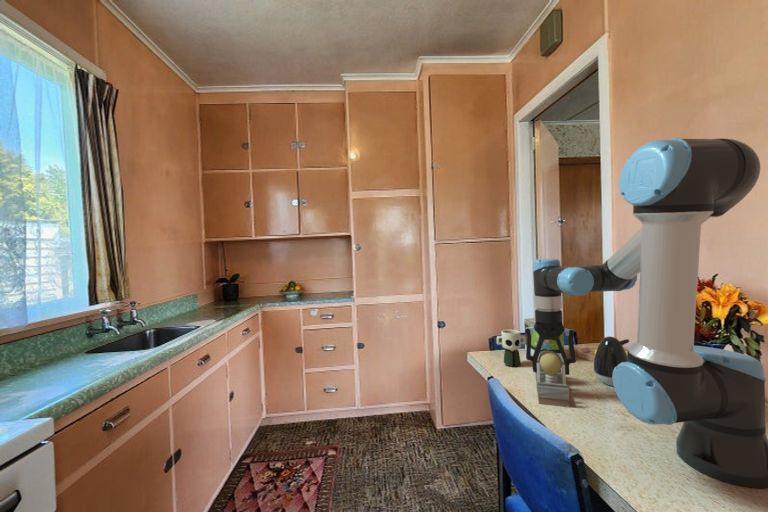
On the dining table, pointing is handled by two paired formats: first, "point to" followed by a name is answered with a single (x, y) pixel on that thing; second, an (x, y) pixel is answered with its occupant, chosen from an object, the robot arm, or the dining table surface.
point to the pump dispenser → (609, 358)
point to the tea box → (547, 344)
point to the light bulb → (550, 366)
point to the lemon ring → (584, 355)
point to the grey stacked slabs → (552, 390)
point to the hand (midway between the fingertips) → (551, 383)
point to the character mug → (511, 346)
